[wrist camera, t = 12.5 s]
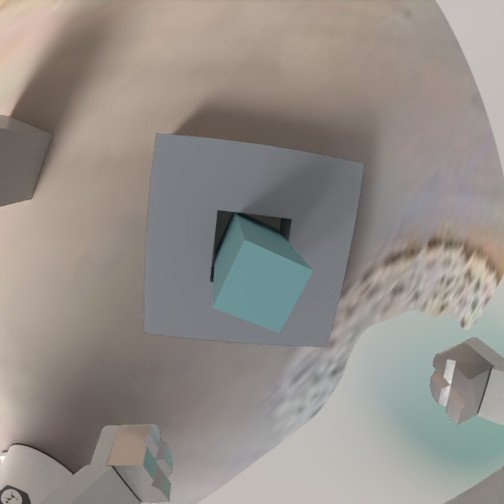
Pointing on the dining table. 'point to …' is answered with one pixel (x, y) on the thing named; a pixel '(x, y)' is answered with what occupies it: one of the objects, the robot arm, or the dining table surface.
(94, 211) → the dining table surface
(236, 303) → the peg
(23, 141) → the perfume bottle
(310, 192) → the socket block
